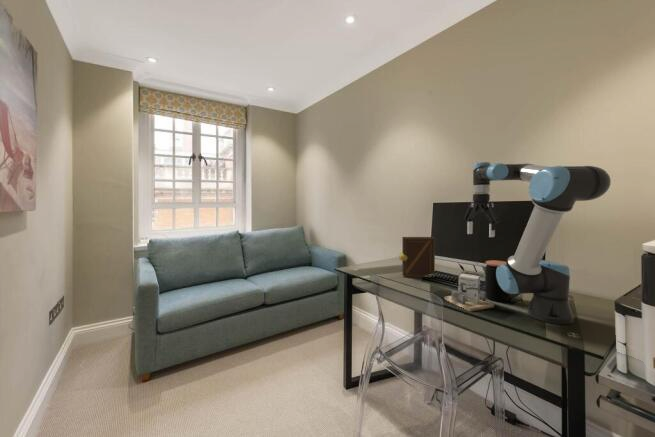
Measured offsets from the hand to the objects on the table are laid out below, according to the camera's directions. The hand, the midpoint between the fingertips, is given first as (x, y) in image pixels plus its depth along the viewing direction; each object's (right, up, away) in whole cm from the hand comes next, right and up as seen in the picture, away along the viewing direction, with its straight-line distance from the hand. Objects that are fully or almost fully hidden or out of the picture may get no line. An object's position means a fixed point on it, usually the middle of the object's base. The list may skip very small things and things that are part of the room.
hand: (480, 235), depth 146 cm
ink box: (-11, -30, -10) cm, 34 cm away
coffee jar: (+6, -31, -5) cm, 32 cm away
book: (-21, -29, +38) cm, 52 cm away
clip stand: (-11, -32, -10) cm, 35 cm away
